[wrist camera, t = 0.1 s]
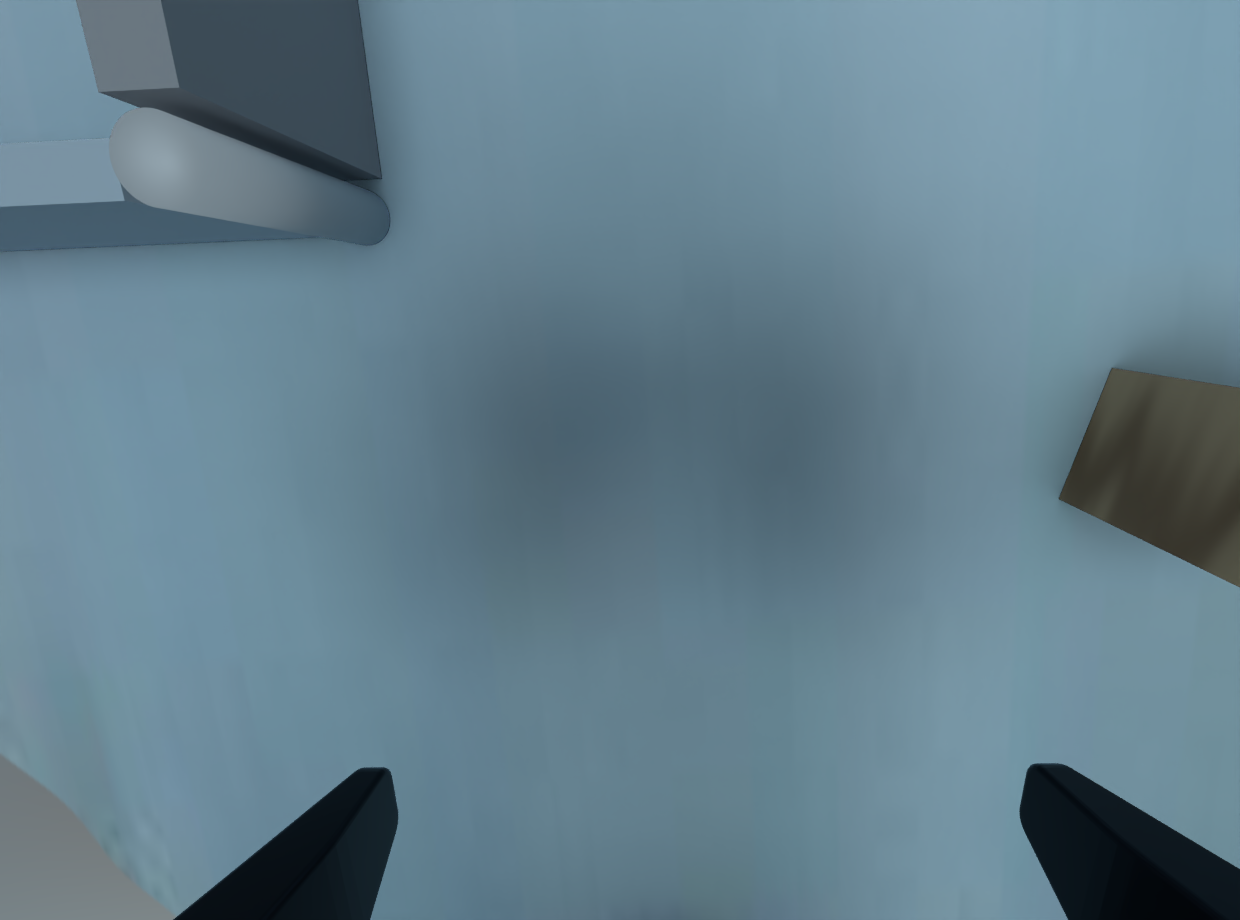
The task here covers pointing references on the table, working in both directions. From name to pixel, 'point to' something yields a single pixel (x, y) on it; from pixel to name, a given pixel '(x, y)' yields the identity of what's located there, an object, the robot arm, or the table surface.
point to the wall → (242, 110)
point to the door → (92, 204)
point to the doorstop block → (1165, 467)
